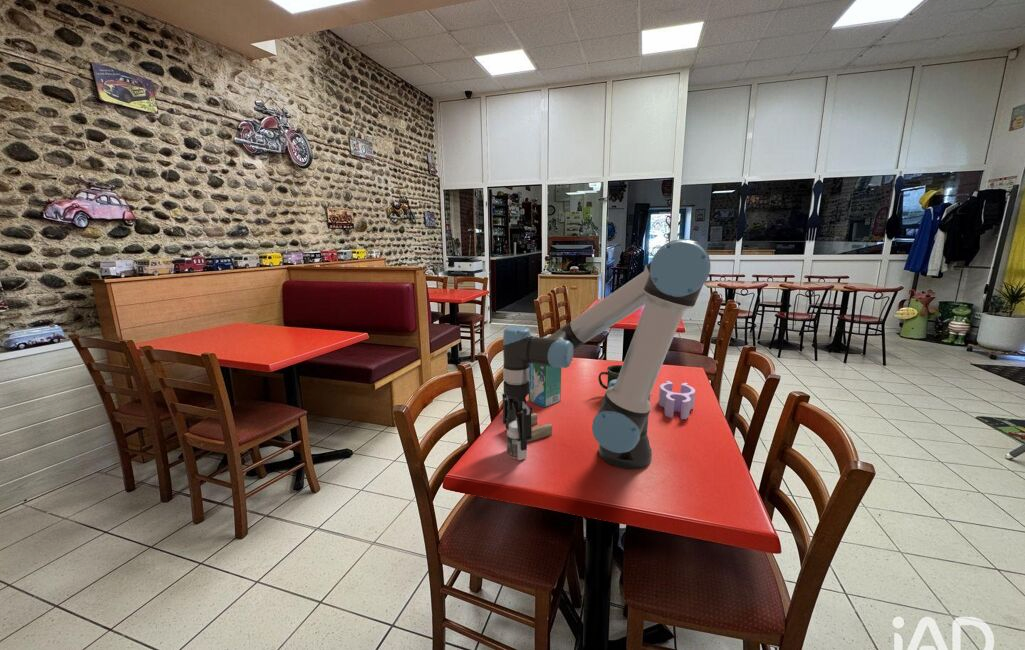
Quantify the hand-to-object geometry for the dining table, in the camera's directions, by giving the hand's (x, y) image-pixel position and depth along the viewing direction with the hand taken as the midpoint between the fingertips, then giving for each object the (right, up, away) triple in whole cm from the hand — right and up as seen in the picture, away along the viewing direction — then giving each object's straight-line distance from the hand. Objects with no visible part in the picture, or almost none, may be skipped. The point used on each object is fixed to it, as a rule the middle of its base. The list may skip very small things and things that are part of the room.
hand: (516, 453), depth 121 cm
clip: (+61, +7, +32) cm, 69 cm away
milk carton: (+11, +8, +39) cm, 41 cm away
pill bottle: (0, -1, 0) cm, 1 cm away
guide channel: (+5, +3, +14) cm, 15 cm away
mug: (+40, +9, +42) cm, 59 cm away
